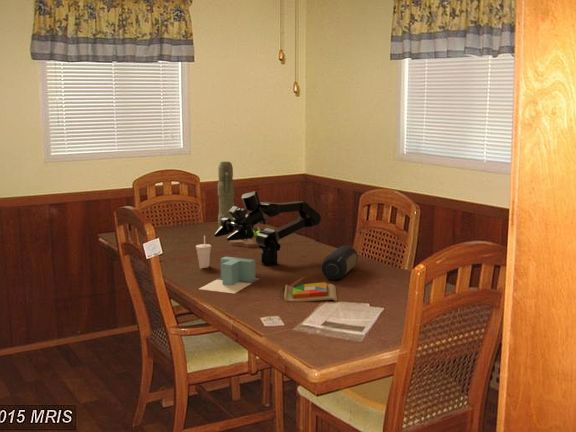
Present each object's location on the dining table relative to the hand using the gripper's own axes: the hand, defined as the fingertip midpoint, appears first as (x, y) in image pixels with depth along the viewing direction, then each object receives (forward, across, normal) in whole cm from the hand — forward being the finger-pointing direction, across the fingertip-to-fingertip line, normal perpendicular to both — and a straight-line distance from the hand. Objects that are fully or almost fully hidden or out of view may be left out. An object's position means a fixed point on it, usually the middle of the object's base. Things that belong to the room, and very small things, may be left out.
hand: (220, 237), depth 290 cm
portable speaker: (-29, +31, +27) cm, 50 cm away
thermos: (-45, -76, +33) cm, 94 cm away
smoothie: (+6, -11, +14) cm, 19 cm away
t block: (+9, +16, +11) cm, 21 cm away
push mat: (+12, +17, +11) cm, 24 cm away
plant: (-34, -38, +29) cm, 59 cm away
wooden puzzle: (-3, +46, +18) cm, 49 cm away
